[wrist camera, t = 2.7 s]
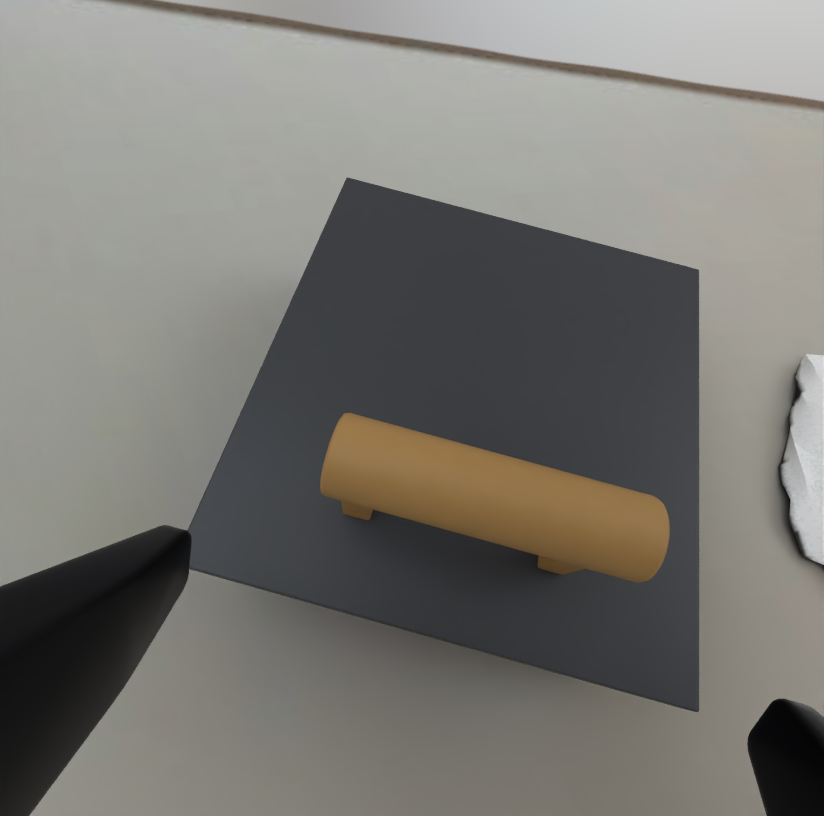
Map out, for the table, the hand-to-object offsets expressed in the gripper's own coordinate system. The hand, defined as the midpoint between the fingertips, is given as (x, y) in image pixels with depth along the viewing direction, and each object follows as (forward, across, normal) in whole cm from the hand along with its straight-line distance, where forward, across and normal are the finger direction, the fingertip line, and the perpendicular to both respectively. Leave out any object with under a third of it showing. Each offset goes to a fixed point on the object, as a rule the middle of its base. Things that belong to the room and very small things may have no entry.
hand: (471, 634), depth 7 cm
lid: (+8, 0, -1) cm, 8 cm away
